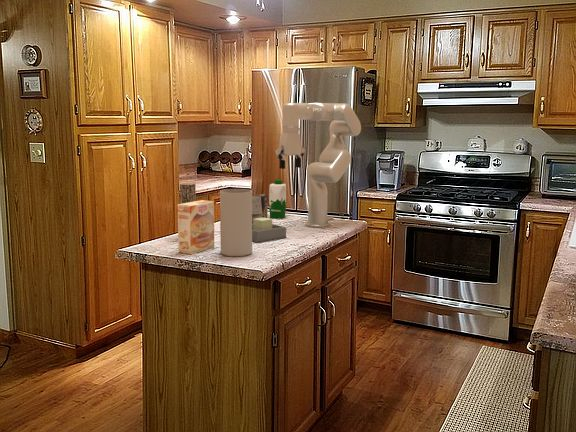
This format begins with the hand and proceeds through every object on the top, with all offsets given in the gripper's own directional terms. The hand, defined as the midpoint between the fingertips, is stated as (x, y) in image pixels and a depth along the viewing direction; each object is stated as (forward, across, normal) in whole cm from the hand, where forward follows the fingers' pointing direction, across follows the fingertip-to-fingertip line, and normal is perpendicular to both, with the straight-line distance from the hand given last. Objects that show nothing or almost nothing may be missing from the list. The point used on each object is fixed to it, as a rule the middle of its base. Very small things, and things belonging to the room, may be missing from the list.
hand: (290, 168), depth 264 cm
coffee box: (+31, +4, -18) cm, 36 cm away
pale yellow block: (+30, +18, +2) cm, 35 cm away
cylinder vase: (+31, +44, +18) cm, 56 cm away
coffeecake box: (+31, +53, +3) cm, 61 cm away
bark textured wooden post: (+31, +44, -18) cm, 56 cm away
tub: (+30, +18, +2) cm, 35 cm away
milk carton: (+31, -21, -34) cm, 50 cm away
